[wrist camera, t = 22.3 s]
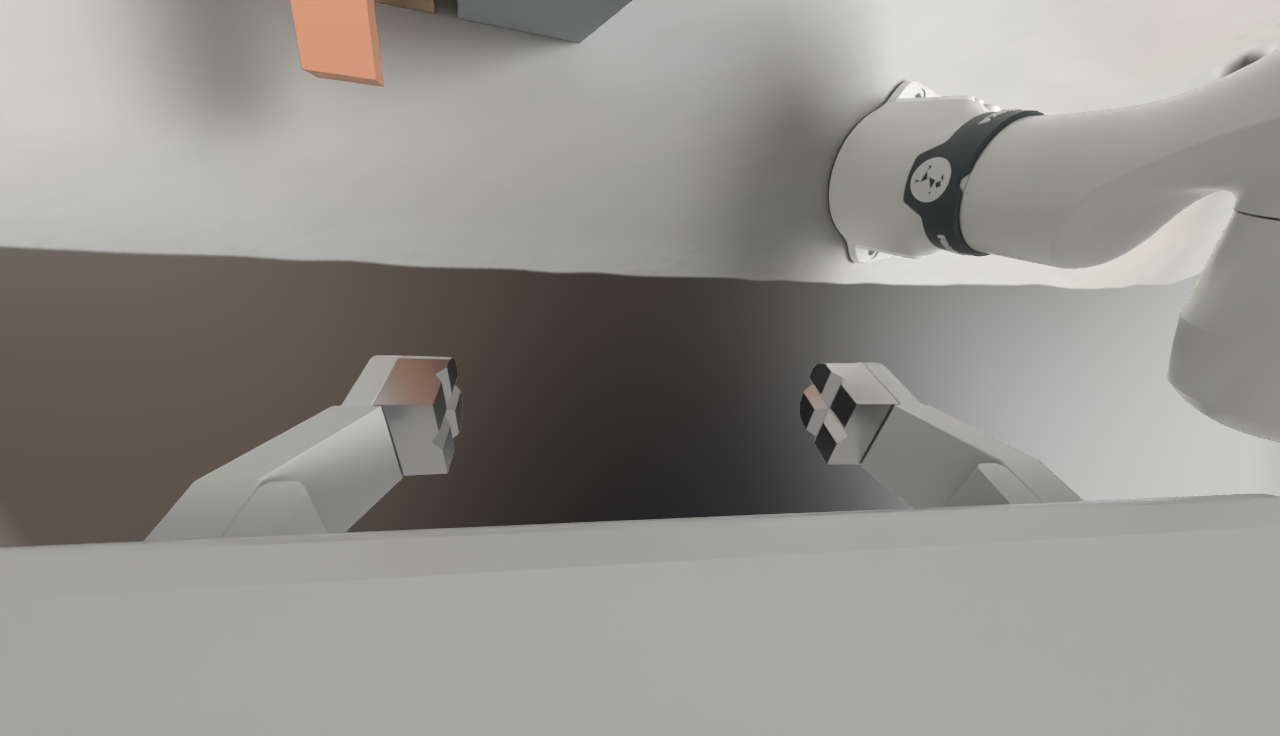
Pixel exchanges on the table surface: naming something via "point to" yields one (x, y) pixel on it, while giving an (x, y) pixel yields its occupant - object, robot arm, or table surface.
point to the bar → (338, 39)
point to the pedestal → (542, 15)
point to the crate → (412, 4)
